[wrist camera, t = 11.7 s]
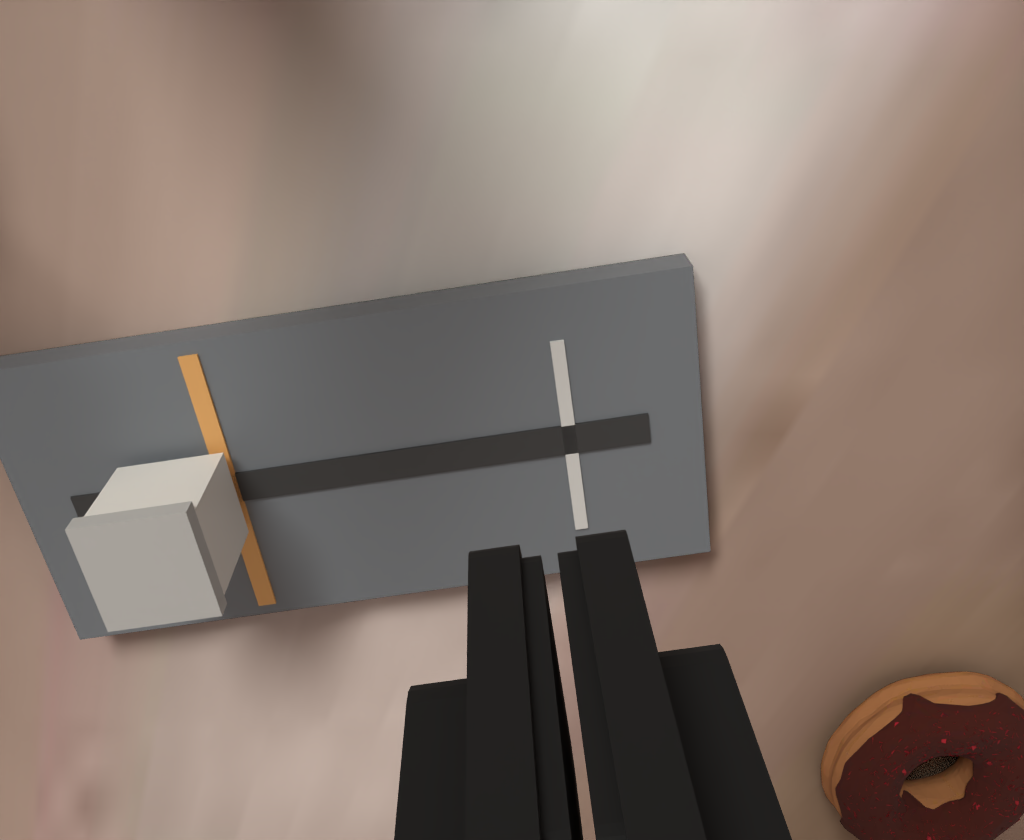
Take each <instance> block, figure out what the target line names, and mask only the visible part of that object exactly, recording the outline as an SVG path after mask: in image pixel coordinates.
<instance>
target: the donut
mask: <svg viewBox="0 0 1024 840" xmlns="http://www.w3.org/2000/svg"><path fill="white" fill-rule="evenodd" d="M954 755H956V756H960V757H959V758H958V759H957V761H956V762H955V763H954V764H953V765H951V766H950V767H949V768H947V769H946V770H944V771H943V772H940V773H938V774H936V775H933V776H929V777H925V778H922V779H911V780H905V779H906V778H907V777H908V776H909V774H910V773H911V772H912V771H913V770H914V769H915V768H916V767H918V766H919V765H920V764H921V765H922V763H924V762H925V761H926V762H927V760H929V759H932V758H935V757H940V756H945V757H946V756H951V757H952V756H953V757H955V756H954ZM821 779H822V786H823V789H824V792H825V795H826V796H827V798H828V799H829V800H830V802H831V803H832V804H833V805H834V806H835V808H836V809H837V811H838V812H839V814H840V816H841V817H842V818H841V820H840V822H841V824H842V825H843V826H844V828H845V829H847V830H848V831H849V832H850V833H852V834H853V835H854V836H856V837H857V838H858V839H860V840H993V839H995V838H996V837H997V836H999V835H1000V834H1001V833H1003V832H1004V831H1005V830H1007V829H1008V828H1009V827H1011V826H1012V825H1013V824H1016V822H1017V821H1019V820H1020V817H1021V816H1022V815H1023V813H1024V700H1023V698H1022V697H1021V696H1020V695H1019V694H1018V693H1017V692H1015V691H1014V690H1013V689H1012V688H1011V687H1009V686H1007V685H1005V684H1003V683H1001V682H999V681H998V680H996V679H994V678H992V677H990V676H988V675H983V674H979V673H974V672H946V673H933V674H926V675H921V676H916V677H911V678H906V679H902V680H899V681H896V682H894V683H891V684H889V685H887V686H886V687H884V688H882V689H880V690H878V691H877V692H875V693H874V694H872V695H871V696H870V697H869V698H867V699H866V700H865V701H864V702H863V703H861V704H860V705H859V706H858V707H857V708H855V709H854V710H853V711H852V712H851V713H850V714H849V715H848V716H847V717H846V718H845V719H844V721H843V722H842V723H841V724H840V726H839V727H838V728H837V730H836V731H835V732H834V733H833V735H832V736H831V738H830V739H829V741H828V743H827V746H826V749H825V752H824V755H823V758H822V763H821Z"/></svg>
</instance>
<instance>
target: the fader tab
mask: <svg viewBox="0 0 1024 840" xmlns="http://www.w3.org/2000/svg"><path fill="white" fill-rule="evenodd" d="M65 532H66V534H67V536H68V539H69V541H70V544H71V546H72V548H73V551H74V553H75V555H76V558H77V560H78V562H79V565H80V567H81V570H82V572H83V574H84V577H85V579H86V581H87V584H88V586H89V589H90V591H91V593H92V596H93V598H94V600H95V603H96V605H97V607H98V610H99V612H100V615H101V617H102V619H103V622H104V624H105V626H106V629H107V631H108V632H112V631H119V630H126V629H133V628H141V627H148V626H155V625H162V624H169V623H176V622H184V621H191V620H198V619H205V618H212V617H219V616H223V613H224V610H225V608H226V605H227V602H226V599H225V596H224V595H225V592H226V590H227V587H228V584H229V582H230V579H231V577H232V574H233V572H234V569H235V566H236V564H237V561H238V559H239V556H240V553H241V551H242V548H243V546H244V543H245V540H246V538H247V535H248V533H249V531H248V527H247V524H246V521H245V518H244V515H243V512H242V509H241V506H240V502H239V499H238V496H237V493H236V490H235V487H234V484H233V481H232V477H231V474H230V471H229V468H228V465H227V462H226V459H225V456H224V452H223V453H216V454H209V455H202V456H195V457H189V458H182V459H175V460H168V461H161V462H154V463H147V464H140V465H134V466H127V467H120V468H117V469H116V470H115V472H114V473H113V475H112V476H111V478H110V479H109V481H108V482H107V483H106V485H105V486H104V488H103V489H102V491H101V492H100V494H99V495H98V497H97V498H96V500H95V501H94V502H93V504H92V505H91V507H90V508H89V510H88V511H87V513H86V514H85V516H84V517H78V518H73V519H72V520H71V522H70V523H69V525H68V526H67V527H66V529H65Z"/></svg>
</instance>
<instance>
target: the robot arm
mask: <svg viewBox="0 0 1024 840" xmlns="http://www.w3.org/2000/svg"><path fill="white" fill-rule="evenodd" d="M575 539H576V547H577V550H574V551H567V552H560V553H557V555H558V562H559V570H560V577H561V584H562V592H563V599H564V607H565V614H566V621H567V629H568V636H569V643H570V651H571V658H572V666H573V673H574V680H575V688H576V695H577V702H578V710H579V717H580V725H581V732H582V739H583V747H584V754H585V762H586V769H587V776H588V784H589V791H590V798H591V806H592V813H593V821H594V828H595V835H596V840H792V838H791V836H790V833H789V830H788V827H787V824H786V821H785V819H784V816H783V813H782V810H781V807H780V805H779V802H778V799H777V796H776V793H775V790H774V788H773V785H772V782H771V779H770V776H769V774H768V771H767V768H766V765H765V762H764V759H763V757H762V754H761V751H760V748H759V745H758V743H757V740H756V737H755V734H754V731H753V728H752V726H751V723H750V720H749V717H748V714H747V712H746V709H745V706H744V703H743V700H742V697H741V695H740V692H739V689H738V686H737V683H736V680H735V678H734V675H733V672H732V669H731V666H730V664H729V661H728V658H727V656H726V653H725V651H724V649H723V647H722V646H721V645H720V644H716V645H708V646H701V647H694V648H686V649H679V650H672V651H664V652H658V651H657V647H656V643H655V639H654V635H653V631H652V627H651V624H650V620H649V616H648V612H647V608H646V604H645V600H644V597H643V593H642V589H641V585H640V581H639V577H638V573H637V569H636V566H635V562H634V558H633V554H632V550H631V546H630V542H629V539H628V535H627V532H626V530H618V531H611V532H604V533H597V534H590V535H583V536H576V537H575ZM394 840H583V834H582V826H581V817H580V809H579V801H578V793H577V784H576V776H575V768H574V761H573V754H572V747H571V740H570V734H569V727H568V721H567V715H566V708H565V702H564V696H563V689H562V683H561V677H560V670H559V664H558V658H557V651H556V645H555V639H554V632H553V626H552V620H551V614H550V607H549V601H548V595H547V588H546V582H545V576H544V569H543V563H542V557H541V555H539V556H532V557H525V558H522V554H521V549H520V545H512V546H505V547H498V548H491V549H483V550H476V551H470V552H469V555H468V624H467V679H459V680H452V681H445V682H437V683H430V684H423V685H415V686H411V687H410V689H409V691H408V697H407V704H406V715H405V726H404V737H403V748H402V759H401V770H400V781H399V792H398V803H397V814H396V825H395V836H394Z"/></svg>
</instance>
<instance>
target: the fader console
mask: <svg viewBox="0 0 1024 840" xmlns="http://www.w3.org/2000/svg"><path fill="white" fill-rule="evenodd" d="M223 452H224V456H225V459H226V462H227V465H228V468H229V471H230V474H231V477H232V481H233V484H234V487H235V490H236V493H237V496H238V499H239V502H240V506H241V509H242V512H243V515H244V518H245V521H246V524H247V527H248V531H249V533H248V535H247V538H246V540H245V543H244V546H243V548H242V551H241V553H240V556H239V559H238V561H237V564H236V566H235V569H234V572H233V574H232V577H231V579H230V582H229V584H228V587H227V590H226V592H225V595H224V596H225V599H226V602H227V605H226V608H225V610H224V613H223V616H219V617H212V618H205V619H198V620H191V621H184V622H176V623H169V624H162V625H155V626H148V627H141V628H133V629H126V630H119V631H112V632H108V631H107V629H106V626H105V624H104V622H103V619H102V617H101V615H100V612H99V610H98V607H97V605H96V603H95V600H94V598H93V596H92V593H91V591H90V589H89V586H88V584H87V581H86V579H85V577H84V574H83V572H82V570H81V567H80V565H79V562H78V560H77V558H76V555H75V553H74V551H73V548H72V546H71V544H70V541H69V539H68V536H67V534H66V532H65V529H66V527H67V526H68V525H69V523H70V522H71V520H72V519H73V518H78V517H84V516H85V514H86V513H87V511H88V510H89V508H90V507H91V505H92V504H93V502H94V501H95V500H96V498H97V497H98V495H99V494H100V492H101V491H102V489H103V488H104V486H105V485H106V483H107V482H108V481H109V479H110V478H111V476H112V475H113V473H114V472H115V470H116V469H117V468H120V467H127V466H134V465H140V464H147V463H154V462H161V461H168V460H175V459H182V458H189V457H195V456H202V455H209V454H216V453H223ZM0 459H1V461H2V464H3V466H4V468H5V471H6V473H7V475H8V477H9V480H10V482H11V484H12V486H13V489H14V491H15V493H16V495H17V498H18V500H19V502H20V505H21V507H22V509H23V511H24V514H25V516H26V518H27V520H28V523H29V525H30V527H31V529H32V532H33V534H34V536H35V539H36V541H37V543H38V545H39V548H40V550H41V552H42V554H43V557H44V559H45V561H46V563H47V566H48V568H49V570H50V573H51V575H52V577H53V579H54V582H55V584H56V586H57V588H58V591H59V593H60V595H61V597H62V600H63V602H64V604H65V607H66V609H67V611H68V613H69V616H70V618H71V620H72V622H73V625H74V627H75V629H76V631H77V634H78V636H79V638H80V639H87V638H95V637H102V636H109V635H116V634H123V633H130V632H138V631H145V630H152V629H159V628H166V627H173V626H180V625H188V624H195V623H202V622H209V621H216V620H223V619H231V618H238V617H245V616H252V615H259V614H266V613H273V612H281V611H288V610H295V609H302V608H309V607H316V606H324V605H331V604H338V603H345V602H352V601H359V600H367V599H374V598H381V597H388V596H395V595H402V594H409V593H417V592H424V591H431V590H438V589H445V588H452V587H460V586H467V585H468V555H469V552H470V551H476V550H483V549H491V548H498V547H505V546H512V545H520V549H521V554H522V558H525V557H532V556H539V555H541V557H542V563H543V569H544V575H545V574H553V573H560V570H559V562H558V555H557V553H560V552H567V551H574V550H577V547H576V539H575V537H576V536H583V535H590V534H597V533H604V532H611V531H618V530H626V532H627V535H628V539H629V542H630V546H631V550H632V554H633V558H634V562H638V561H646V560H653V559H660V558H667V557H674V556H681V555H689V554H696V553H703V552H710V535H709V519H708V503H707V487H706V470H705V454H704V438H703V422H702V405H701V389H700V373H699V357H698V341H697V324H696V308H695V292H694V276H693V265H692V264H691V262H690V261H689V259H688V258H687V256H686V255H685V254H684V253H683V254H677V255H670V256H664V257H657V258H650V259H644V260H637V261H630V262H624V263H617V264H610V265H604V266H597V267H590V268H584V269H577V270H570V271H564V272H557V273H550V274H544V275H537V276H530V277H524V278H517V279H510V280H504V281H497V282H490V283H484V284H477V285H470V286H464V287H457V288H451V289H444V290H437V291H431V292H424V293H417V294H411V295H404V296H397V297H391V298H384V299H377V300H371V301H364V302H357V303H351V304H344V305H337V306H331V307H324V308H317V309H311V310H304V311H297V312H291V313H284V314H277V315H271V316H264V317H258V318H251V319H244V320H238V321H231V322H224V323H218V324H211V325H204V326H198V327H191V328H184V329H178V330H171V331H164V332H158V333H151V334H144V335H138V336H131V337H124V338H118V339H111V340H104V341H98V342H91V343H84V344H78V345H71V346H65V347H58V348H51V349H45V350H38V351H31V352H25V353H18V354H11V355H5V356H0Z"/></svg>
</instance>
